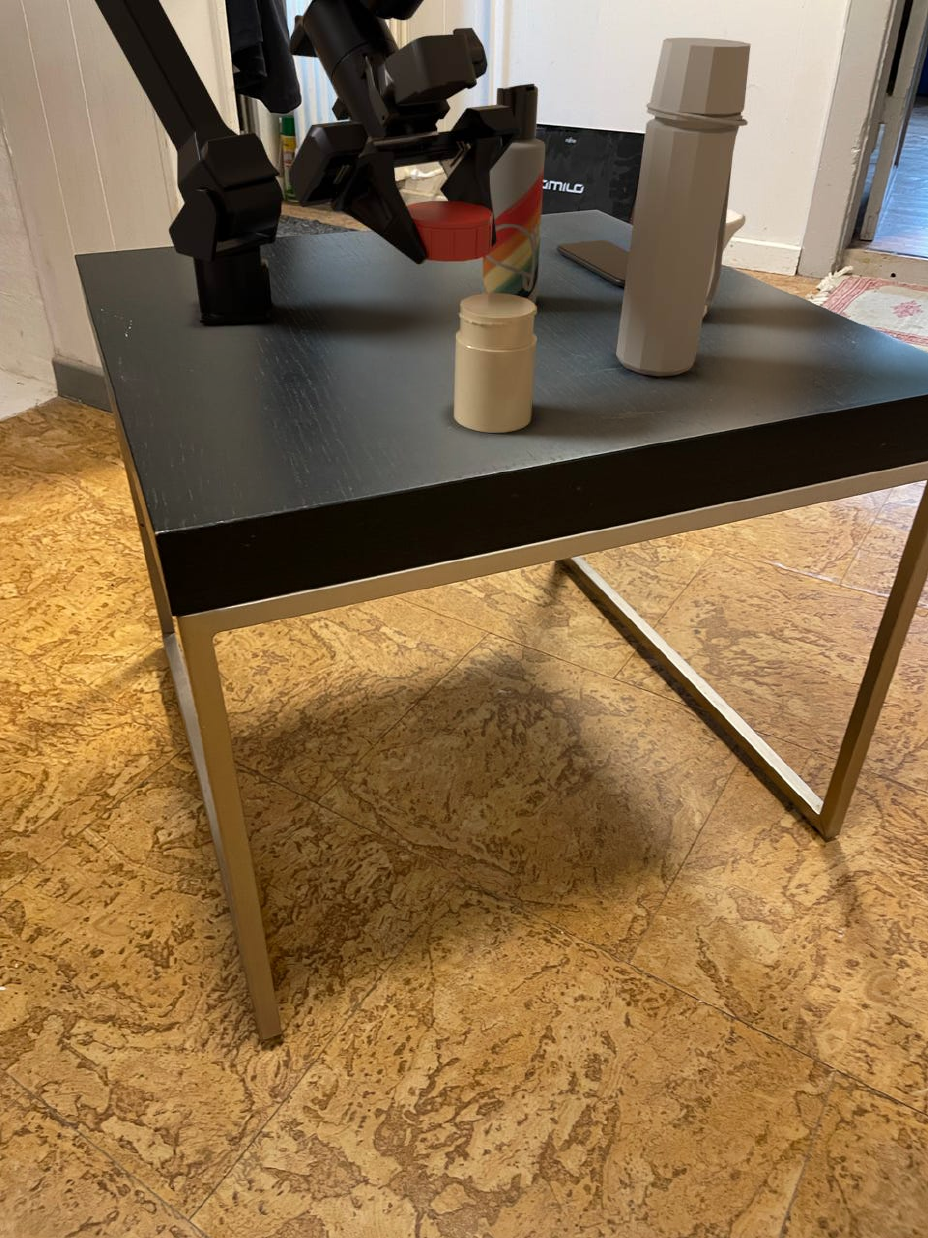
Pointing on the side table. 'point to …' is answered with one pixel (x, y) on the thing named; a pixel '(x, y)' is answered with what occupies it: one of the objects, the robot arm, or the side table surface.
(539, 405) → the side table surface
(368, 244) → the side table surface
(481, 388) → the jar
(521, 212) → the lotion bottle
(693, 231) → the water bottle
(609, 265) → the smartphone
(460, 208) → the jar lid
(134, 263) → the side table surface
